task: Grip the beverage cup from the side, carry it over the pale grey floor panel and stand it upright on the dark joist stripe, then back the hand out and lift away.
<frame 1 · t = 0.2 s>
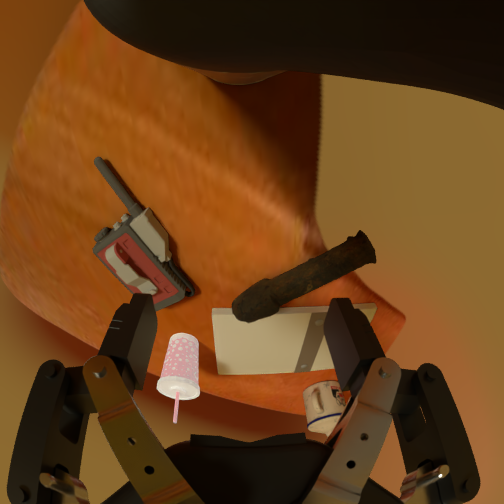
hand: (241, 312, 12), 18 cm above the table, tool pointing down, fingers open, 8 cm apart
floor panel: (291, 341, 42), on the table
teacup with lid: (319, 386, 52), on the table
walkie-talkie: (134, 236, 30), on the table
beverage cup: (184, 340, 41), on the table
hand tool: (298, 271, 34), on the table
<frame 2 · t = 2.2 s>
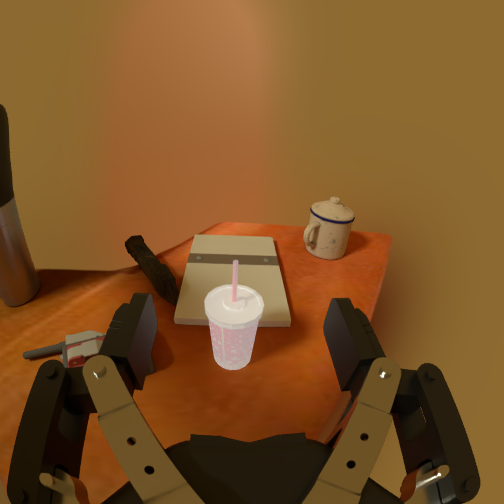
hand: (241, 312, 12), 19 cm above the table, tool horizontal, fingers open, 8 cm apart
floor panel: (232, 275, 47), on the table
teacup with lid: (320, 252, 56), on the table
walkie-talkie: (87, 367, 28), on the table
beverage cup: (232, 356, 32), on the table
hand tool: (155, 276, 45), on the table
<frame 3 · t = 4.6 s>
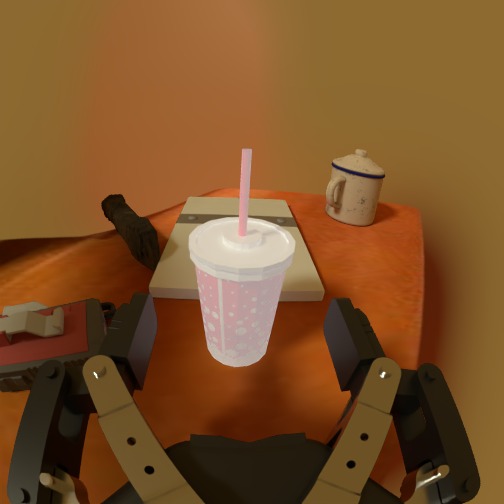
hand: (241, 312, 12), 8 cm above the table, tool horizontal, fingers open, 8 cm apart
floor panel: (236, 238, 35), on the table
teacup with lid: (344, 218, 44), on the table
walkie-talkie: (25, 355, 16), on the table
beverage cup: (237, 344, 20), on the table
hand tool: (135, 240, 34), on the table
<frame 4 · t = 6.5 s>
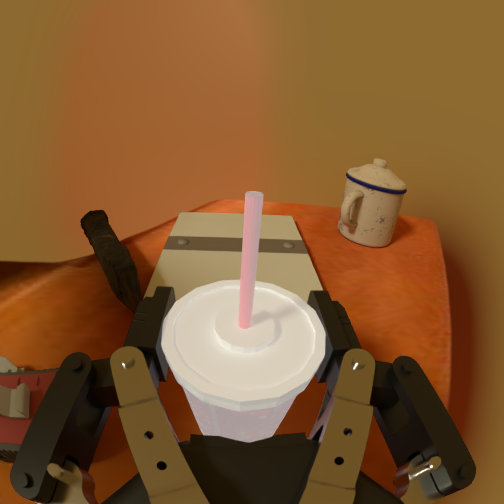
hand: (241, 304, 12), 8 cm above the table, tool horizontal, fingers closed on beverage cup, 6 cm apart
floor panel: (235, 268, 29), on the table
teacup with lid: (359, 237, 38), on the table
beverage cup: (237, 424, 14), on the table, touching gripper
hand tool: (117, 267, 28), on the table
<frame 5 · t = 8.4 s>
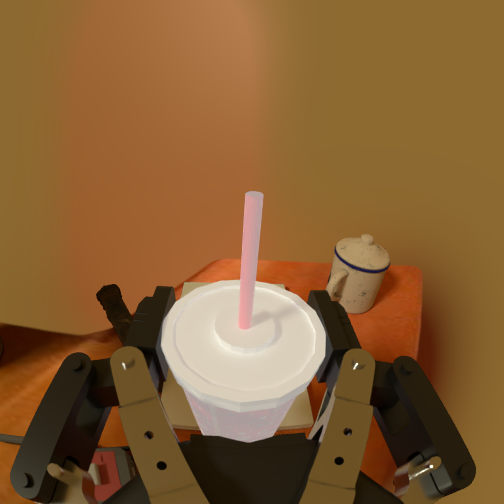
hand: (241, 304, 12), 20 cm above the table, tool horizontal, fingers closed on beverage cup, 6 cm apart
floor panel: (234, 347, 34), on the table
teacup with lid: (343, 301, 43), on the table
walkie-talkie: (65, 473, 15), on the table
beverage cup: (237, 424, 14), point 11 cm above the table, touching gripper
hand tool: (135, 342, 33), on the table
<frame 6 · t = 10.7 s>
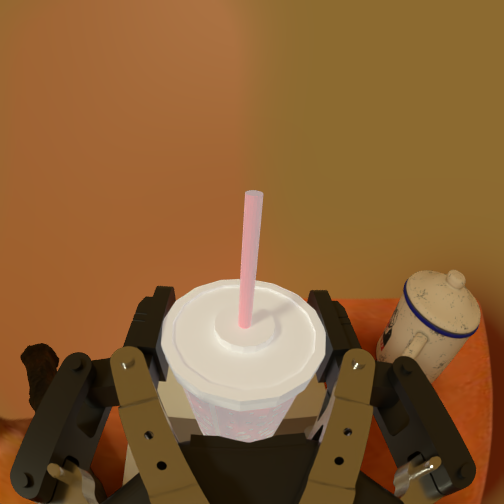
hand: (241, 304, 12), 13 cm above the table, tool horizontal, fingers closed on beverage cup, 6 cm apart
floor panel: (234, 474, 15), on the table
teacup with lid: (401, 367, 24), on the table
beverage cup: (237, 424, 14), point 5 cm above the table, touching gripper
hand tool: (76, 443, 14), on the table
when the fingers open (10 cm above the table, at t = 11.9 s): beverage cup stays where it is, resting on floor panel.
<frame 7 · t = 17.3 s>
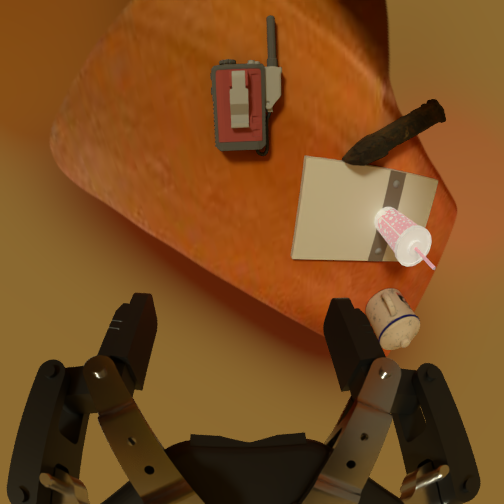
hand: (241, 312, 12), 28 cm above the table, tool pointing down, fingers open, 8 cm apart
floor panel: (368, 214, 40), on the table
teacup with lid: (381, 298, 51), on the table
walkie-talkie: (246, 83, 31), on the table
beverage cup: (385, 219, 40), point 1 cm above the table, touching floor panel
hand tool: (391, 133, 34), on the table
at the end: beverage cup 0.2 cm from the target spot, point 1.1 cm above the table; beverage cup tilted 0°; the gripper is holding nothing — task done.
